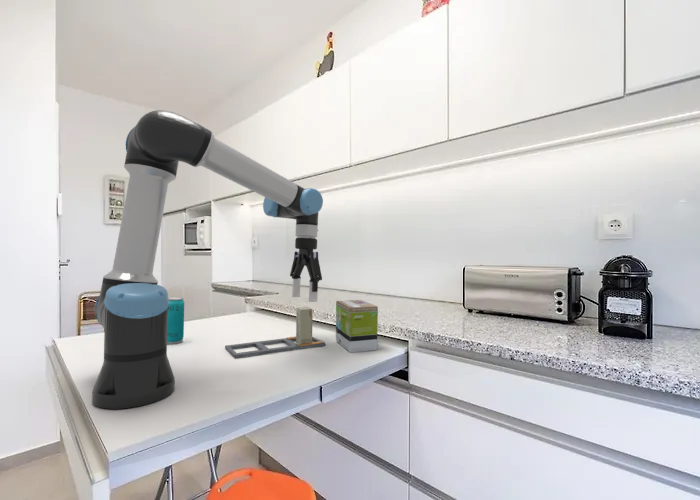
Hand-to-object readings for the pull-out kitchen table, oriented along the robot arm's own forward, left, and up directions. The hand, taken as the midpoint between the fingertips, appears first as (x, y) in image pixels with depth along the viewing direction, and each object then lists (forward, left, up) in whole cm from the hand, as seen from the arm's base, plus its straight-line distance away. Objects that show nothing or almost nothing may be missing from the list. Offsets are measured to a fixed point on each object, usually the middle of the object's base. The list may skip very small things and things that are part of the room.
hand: (304, 299), depth 120 cm
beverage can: (+22, +38, -15) cm, 46 cm away
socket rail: (0, +10, -15) cm, 18 cm away
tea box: (-11, -14, -16) cm, 24 cm away
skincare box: (0, 0, -15) cm, 15 cm away
